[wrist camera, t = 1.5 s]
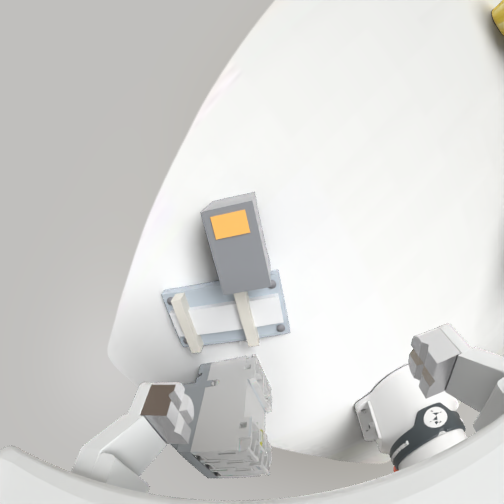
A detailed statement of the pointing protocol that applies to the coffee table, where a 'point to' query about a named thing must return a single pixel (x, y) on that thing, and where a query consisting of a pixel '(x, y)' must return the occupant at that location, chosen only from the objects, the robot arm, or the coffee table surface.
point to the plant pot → (499, 16)
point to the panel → (226, 314)
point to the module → (237, 243)
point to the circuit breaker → (229, 420)
